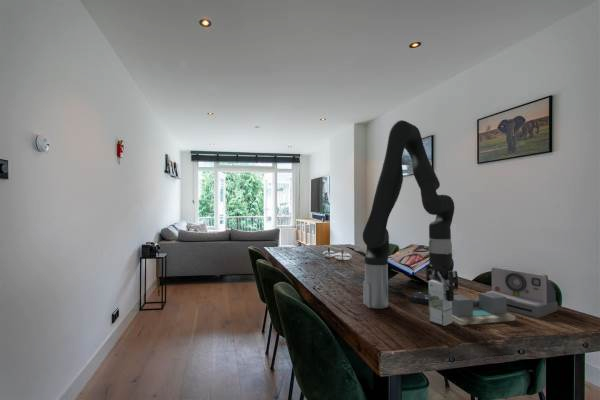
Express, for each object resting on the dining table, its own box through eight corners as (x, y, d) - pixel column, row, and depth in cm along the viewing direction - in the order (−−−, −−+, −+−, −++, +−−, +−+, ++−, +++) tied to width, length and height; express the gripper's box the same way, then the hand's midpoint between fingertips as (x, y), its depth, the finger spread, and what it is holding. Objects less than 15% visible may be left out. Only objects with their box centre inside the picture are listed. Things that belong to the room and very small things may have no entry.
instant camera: (479, 303, 134) (478, 267, 134) (513, 297, 142) (512, 263, 142) (531, 319, 114) (531, 278, 115) (567, 312, 122) (567, 273, 122)
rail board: (461, 325, 109) (460, 303, 109) (439, 313, 121) (438, 293, 121) (515, 320, 113) (515, 299, 114) (489, 309, 125) (489, 290, 125)
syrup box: (453, 322, 111) (452, 281, 112) (443, 326, 108) (442, 283, 108) (438, 318, 116) (437, 278, 116) (428, 321, 113) (427, 280, 113)
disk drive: (409, 303, 136) (447, 309, 127) (409, 296, 136) (446, 302, 127) (417, 297, 144) (452, 302, 135) (417, 291, 144) (452, 296, 135)
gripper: (419, 249, 119) (420, 293, 119) (444, 254, 105) (445, 304, 105) (437, 248, 121) (438, 291, 120) (463, 253, 107) (465, 302, 106)
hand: (441, 297), depth 112 cm, fingers open, 8 cm apart
